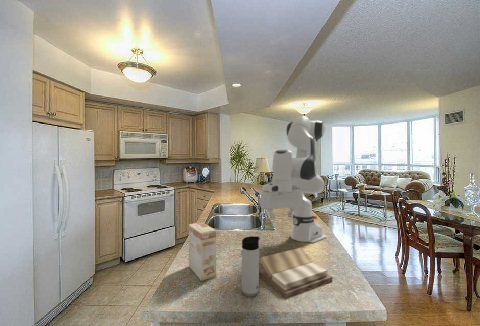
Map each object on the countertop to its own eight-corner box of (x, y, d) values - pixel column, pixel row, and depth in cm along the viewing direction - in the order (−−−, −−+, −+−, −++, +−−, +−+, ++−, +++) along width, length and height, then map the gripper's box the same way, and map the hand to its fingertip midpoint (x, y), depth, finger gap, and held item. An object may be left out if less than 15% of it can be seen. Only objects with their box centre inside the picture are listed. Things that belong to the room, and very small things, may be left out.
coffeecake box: (217, 276, 94) (216, 230, 93) (200, 281, 90) (200, 233, 90) (202, 262, 107) (202, 221, 106) (188, 266, 103) (188, 223, 102)
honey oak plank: (299, 250, 106) (300, 247, 105) (310, 264, 100) (312, 262, 99) (260, 260, 96) (261, 257, 95) (269, 277, 90) (271, 274, 89)
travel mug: (262, 295, 81) (262, 240, 81) (244, 298, 79) (244, 241, 79) (256, 285, 87) (256, 234, 87) (239, 288, 85) (239, 236, 85)
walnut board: (297, 260, 109) (297, 257, 109) (332, 280, 91) (332, 276, 91) (255, 272, 97) (255, 269, 97) (285, 297, 80) (285, 293, 80)
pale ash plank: (312, 267, 99) (312, 262, 99) (327, 275, 92) (327, 270, 92) (271, 279, 89) (271, 274, 89) (284, 290, 82) (284, 284, 82)
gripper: (296, 185, 106) (295, 214, 107) (258, 186, 98) (257, 218, 98) (305, 186, 101) (304, 217, 101) (266, 188, 92) (265, 221, 92)
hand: (281, 217), depth 99 cm, fingers open, 8 cm apart
